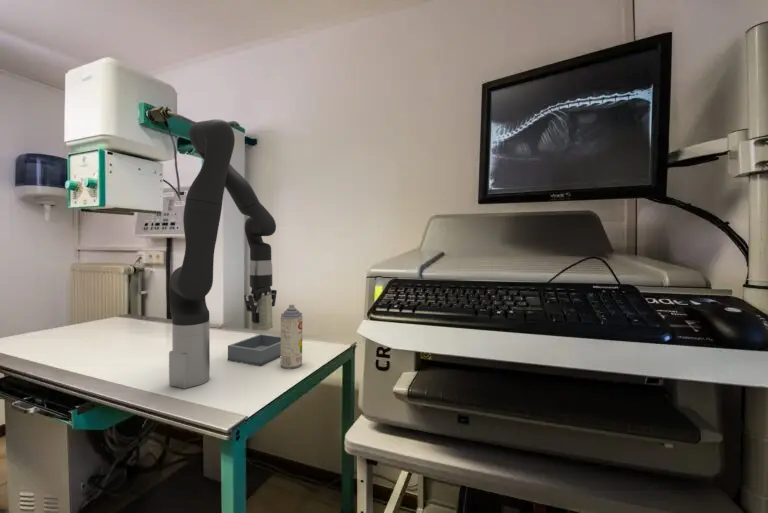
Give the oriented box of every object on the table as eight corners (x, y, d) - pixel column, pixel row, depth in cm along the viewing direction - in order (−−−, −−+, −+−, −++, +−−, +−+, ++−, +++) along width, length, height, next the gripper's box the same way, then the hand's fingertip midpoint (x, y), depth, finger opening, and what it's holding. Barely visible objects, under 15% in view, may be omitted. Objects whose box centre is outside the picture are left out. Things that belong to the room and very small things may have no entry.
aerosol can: (302, 368, 108) (302, 306, 107) (280, 369, 106) (280, 307, 105) (302, 360, 114) (302, 302, 113) (281, 362, 113) (281, 303, 112)
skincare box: (272, 327, 120) (272, 294, 119) (267, 331, 116) (267, 296, 115) (256, 327, 121) (255, 293, 120) (250, 330, 116) (249, 295, 116)
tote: (261, 366, 109) (261, 351, 108) (227, 360, 114) (227, 345, 113) (291, 351, 124) (291, 338, 123) (260, 346, 129) (260, 333, 128)
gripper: (254, 275, 109) (255, 327, 110) (283, 271, 123) (283, 317, 123) (236, 274, 112) (237, 325, 113) (266, 271, 125) (267, 316, 126)
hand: (261, 321), depth 118 cm, fingers closed on skincare box, 5 cm apart
